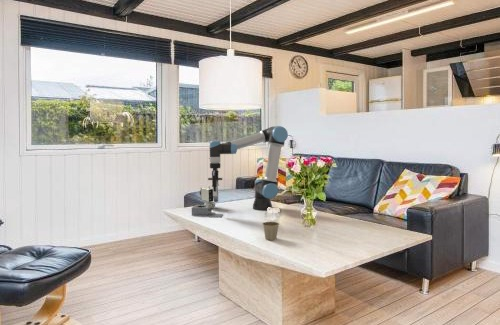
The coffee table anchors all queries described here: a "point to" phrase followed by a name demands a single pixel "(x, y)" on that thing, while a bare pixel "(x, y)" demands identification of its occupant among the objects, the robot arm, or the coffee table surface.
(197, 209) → the chuck
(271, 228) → the flower pot
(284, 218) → the coffee table surface
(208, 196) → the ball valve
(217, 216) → the pad
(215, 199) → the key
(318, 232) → the coffee table surface
